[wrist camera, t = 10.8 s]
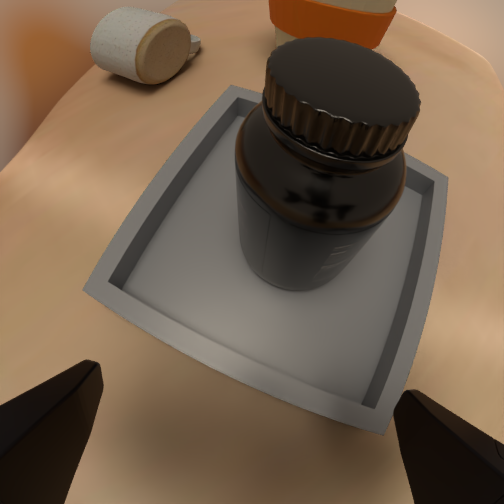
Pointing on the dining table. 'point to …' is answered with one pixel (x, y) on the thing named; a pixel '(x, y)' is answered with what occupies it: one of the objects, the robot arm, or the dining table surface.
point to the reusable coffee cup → (332, 20)
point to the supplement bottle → (321, 159)
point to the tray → (268, 295)
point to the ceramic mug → (142, 45)
